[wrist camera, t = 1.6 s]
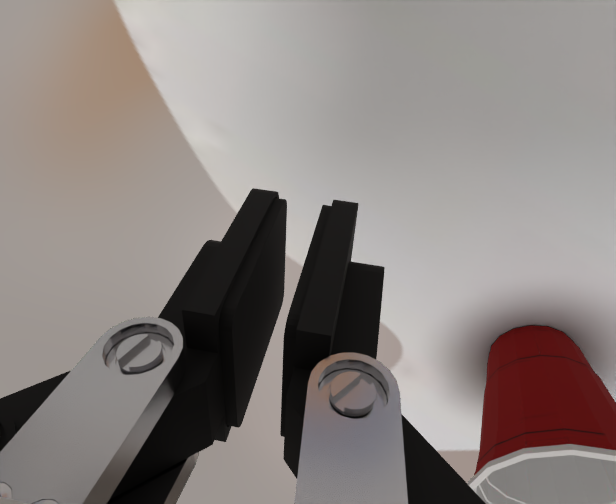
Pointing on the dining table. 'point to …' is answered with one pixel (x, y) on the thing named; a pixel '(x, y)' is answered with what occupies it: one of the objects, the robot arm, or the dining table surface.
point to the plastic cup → (545, 424)
